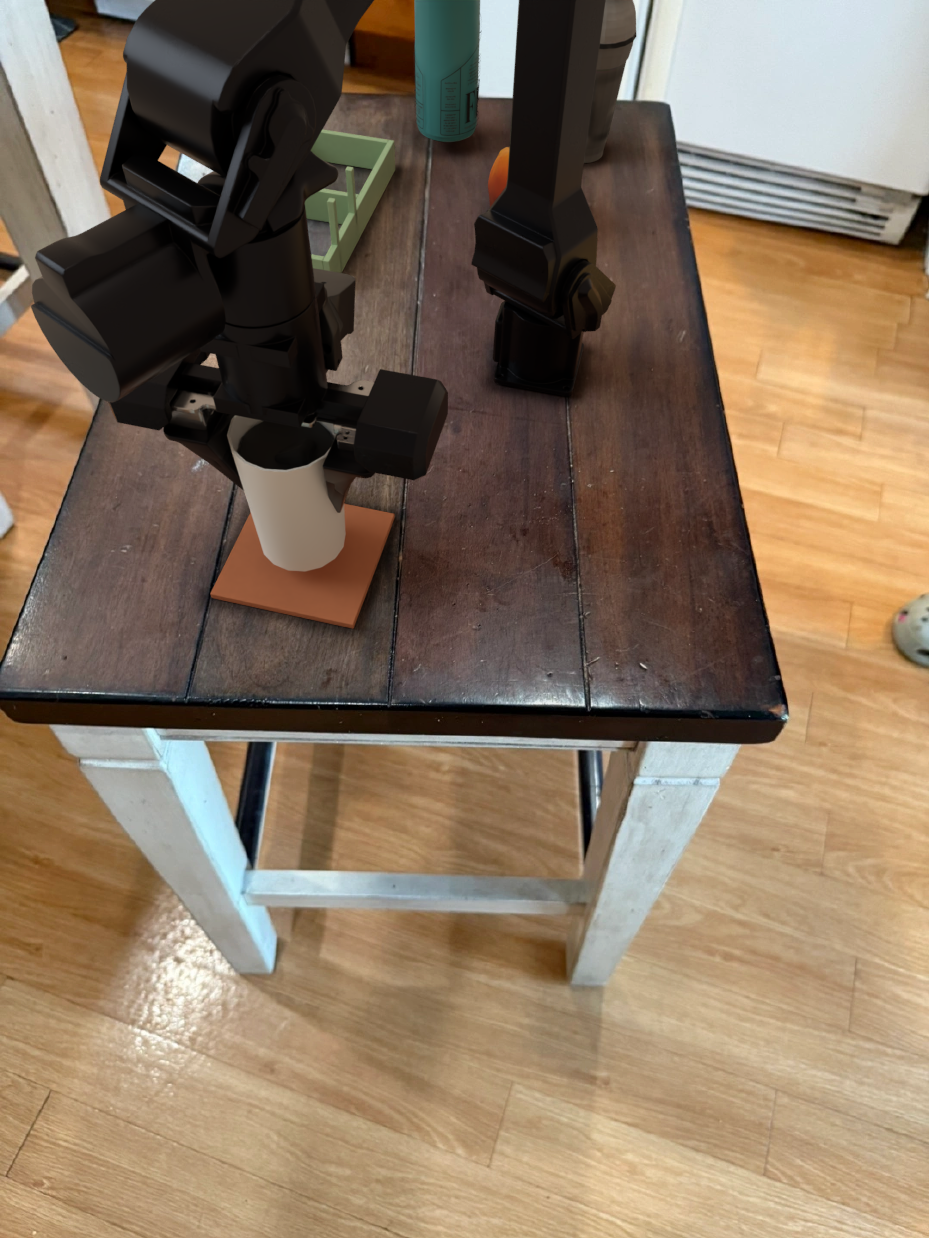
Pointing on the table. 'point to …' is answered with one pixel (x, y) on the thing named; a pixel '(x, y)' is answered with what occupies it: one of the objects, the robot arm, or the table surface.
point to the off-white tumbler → (288, 490)
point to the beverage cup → (609, 71)
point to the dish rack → (349, 191)
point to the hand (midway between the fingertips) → (297, 498)
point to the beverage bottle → (447, 68)
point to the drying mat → (308, 573)
